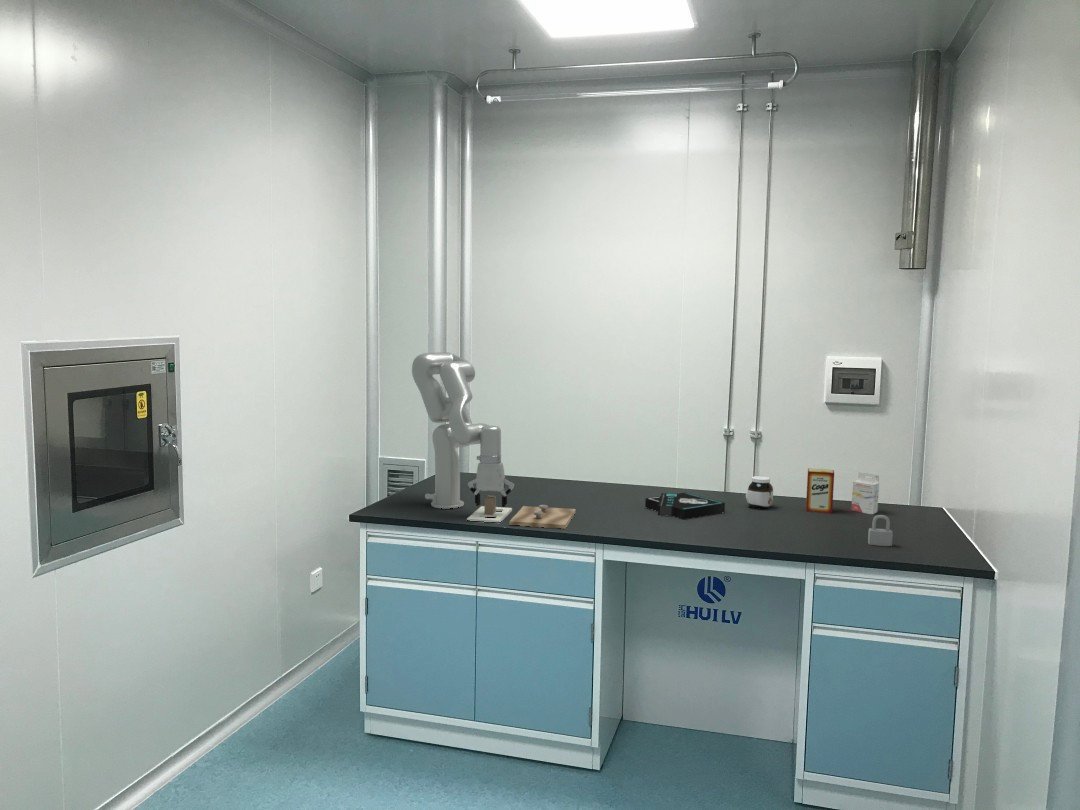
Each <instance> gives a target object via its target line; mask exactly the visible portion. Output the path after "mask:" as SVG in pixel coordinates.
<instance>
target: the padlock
mask: <svg viewBox="0 0 1080 810" xmlns="http://www.w3.org/2000/svg"><path fill="white" fill-rule="evenodd" d="M878 519H882V520H885V528H876V527H877V521H878ZM890 521H891V520H890V518H889V517H888V516H887V515H884V514H878V515H875V516H873V519H872V522H871V523H872V524H871V527H869V528H868V533H867V537H868V538H867V543H868V545H869V546H878V547H879V546H881V547H890V546H891V547H893V537H894V535H893V533H894V532H893V530H892V529H890V527H891V525H890V524H891V522H890Z"/></svg>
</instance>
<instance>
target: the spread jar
mask: <svg viewBox="0 0 1080 810" xmlns="http://www.w3.org/2000/svg"><path fill="white" fill-rule="evenodd" d="M747 487H748V488H747V492H746V493H745V499H746V501H747V504H748V506H749V507H750V506H751V507H750V508H752V507H754V508H753V509H755V508H760V509H759V510H765V509H764V508H768V509H769V508H770V507H772V504H773V502H774V501H773V500H774V487H773V485H772V484H771V478H770V477H768V476H759V475H758V476H757V475H755V476H752V477H751V483H749V485H748V486H747Z"/></svg>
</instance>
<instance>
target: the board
mask: <svg viewBox="0 0 1080 810" xmlns="http://www.w3.org/2000/svg"><path fill="white" fill-rule="evenodd" d="M576 510H577V509H575V508H564V507H560V508H559V507H549V506H548V505H547V504H540V505H538V506H530V505H529V506H527V505H523V506H522V507H521V508H520V509H519V510H518V511H517V513H516V514H515V515H513V517H512V518H511V519H510V520H509V521H508V523H509V525H520V526H519V527H525V526H530V527H529V528H541V527H544V528H545V529H557V528H561V530H566V529H567V528H566V527H568V526H569V524H570V523H571V521H572V520H573V519H574V517H575V515H576V512H577V511H576ZM574 514H575V515H574ZM571 519H572V520H571ZM509 525H508V526H509ZM544 528H543V529H544Z"/></svg>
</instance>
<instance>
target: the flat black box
mask: <svg viewBox="0 0 1080 810" xmlns="http://www.w3.org/2000/svg"><path fill="white" fill-rule="evenodd" d="M725 504H726V503H725V502H722V501H719V500H715V499H712V498H707V497H704V496H701V495H697V494H694V493H689V492H682V493H681V492H679V493H667V492H666V493H665V492H661V494H660V495H659V496H651V497H647V498H645V507H647V508H649V509H648V510H651V509H653V510H652V511H654V510H656V511H655V512H657V511H658V512H657V516H659V515H668V516H667V517H673V516H675V517H674V518H677V517H679V518H678V519H680V518H682V519H681V520H687V519H686V518H689V519H693V518H692V517H695V518H700V517H699V516H701V517H705V515H707V516H712V515H711V514H713V515H717V514H716V513H719V514H723V513H722V512H724V513H725V511H726V507H725V506H726V505H725ZM645 507H644V508H645ZM647 508H646V509H647Z"/></svg>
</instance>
